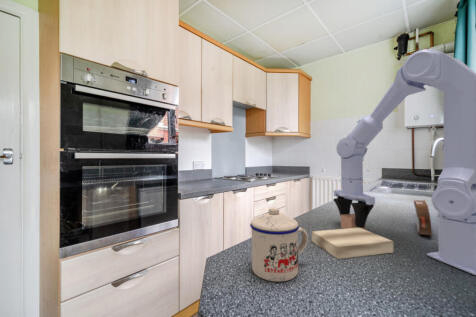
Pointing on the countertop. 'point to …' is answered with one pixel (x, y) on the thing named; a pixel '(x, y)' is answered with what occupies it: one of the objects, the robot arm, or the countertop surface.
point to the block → (348, 221)
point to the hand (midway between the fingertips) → (352, 224)
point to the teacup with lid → (276, 246)
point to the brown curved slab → (423, 218)
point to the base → (351, 242)
